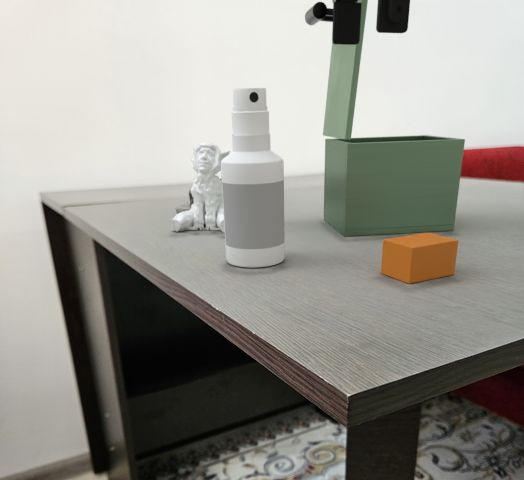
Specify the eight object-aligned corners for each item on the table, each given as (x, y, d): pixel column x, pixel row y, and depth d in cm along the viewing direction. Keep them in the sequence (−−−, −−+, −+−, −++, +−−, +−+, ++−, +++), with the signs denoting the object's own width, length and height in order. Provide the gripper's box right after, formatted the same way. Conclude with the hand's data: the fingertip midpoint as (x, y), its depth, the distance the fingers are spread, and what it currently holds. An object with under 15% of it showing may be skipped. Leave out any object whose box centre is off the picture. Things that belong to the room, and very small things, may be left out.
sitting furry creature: (168, 232, 77) (159, 144, 72) (188, 220, 84) (182, 141, 79) (230, 233, 75) (225, 143, 70) (245, 221, 82) (242, 139, 77)
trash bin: (418, 214, 84) (426, 135, 79) (453, 230, 73) (465, 139, 68) (323, 219, 82) (325, 138, 77) (344, 236, 71) (347, 143, 66)
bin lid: (341, 5, 71) (301, 1, 70) (369, -16, 59) (321, -21, 58) (327, 135, 77) (290, 133, 77) (350, 139, 66) (307, 137, 65)
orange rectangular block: (424, 264, 57) (427, 232, 56) (454, 274, 54) (458, 239, 52) (380, 273, 55) (383, 239, 53) (409, 284, 51) (412, 247, 50)
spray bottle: (233, 271, 57) (224, 87, 50) (220, 256, 63) (210, 90, 56) (292, 264, 59) (291, 86, 51) (274, 251, 65) (271, 89, 57)
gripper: (476, -223, 42) (448, 28, 49) (369, -134, 56) (359, 48, 64) (394, -239, 39) (377, 25, 47) (305, -142, 54) (302, 47, 61)
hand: (366, 38), depth 55 cm, fingers open, 9 cm apart
